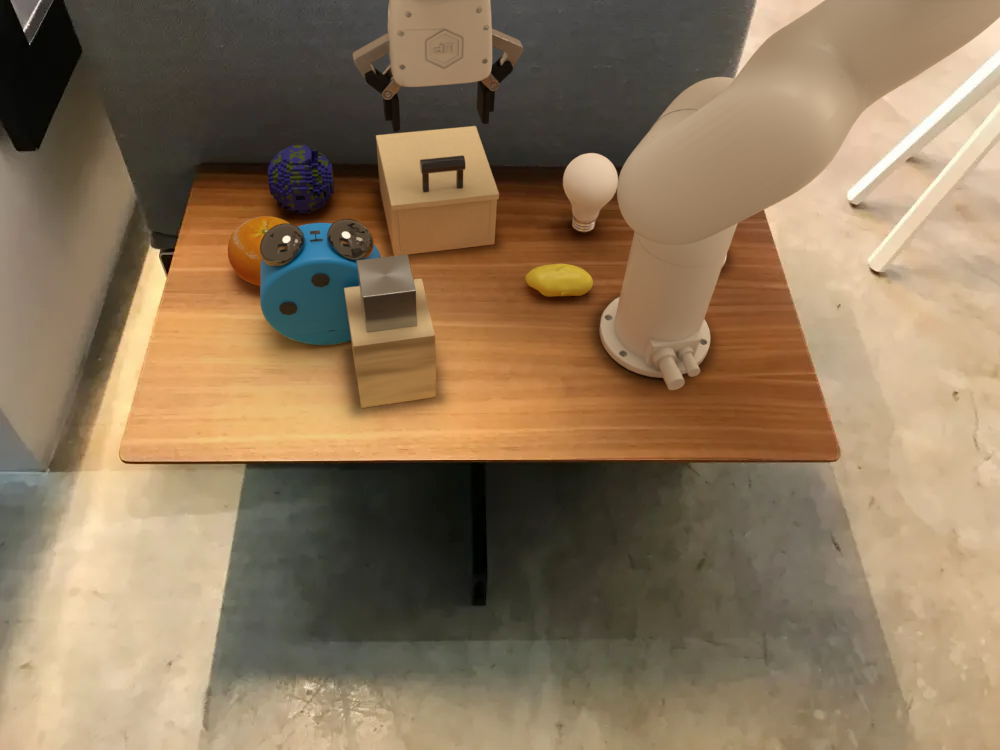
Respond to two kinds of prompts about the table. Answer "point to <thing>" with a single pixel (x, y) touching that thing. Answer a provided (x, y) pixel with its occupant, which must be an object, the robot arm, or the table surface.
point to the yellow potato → (559, 280)
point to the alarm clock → (312, 278)
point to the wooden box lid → (435, 168)
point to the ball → (301, 179)
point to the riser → (393, 355)
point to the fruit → (250, 247)
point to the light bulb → (589, 188)
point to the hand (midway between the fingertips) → (439, 120)
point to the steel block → (387, 293)
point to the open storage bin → (438, 224)
